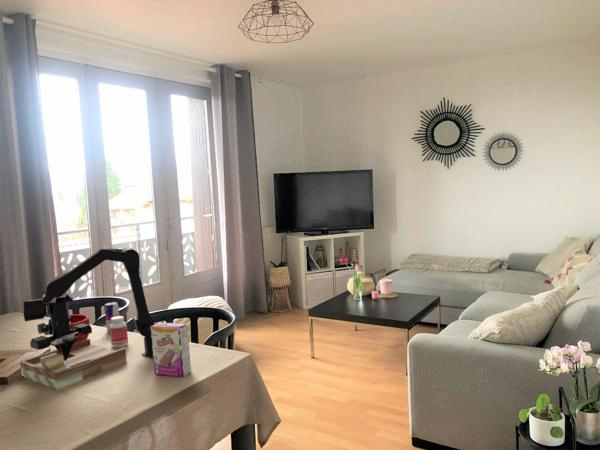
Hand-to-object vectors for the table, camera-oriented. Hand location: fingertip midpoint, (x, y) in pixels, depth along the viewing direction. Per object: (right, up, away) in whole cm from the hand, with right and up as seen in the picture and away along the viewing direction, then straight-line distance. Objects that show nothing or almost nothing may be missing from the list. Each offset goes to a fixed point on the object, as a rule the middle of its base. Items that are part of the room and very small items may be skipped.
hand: (65, 360), depth 168 cm
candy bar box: (+38, -3, -7) cm, 39 cm away
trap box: (+2, -4, +3) cm, 5 cm away
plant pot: (-8, -2, +24) cm, 26 cm away
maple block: (-2, -2, -3) cm, 4 cm away
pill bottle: (+10, -1, +25) cm, 27 cm away
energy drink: (0, 0, +44) cm, 44 cm away
